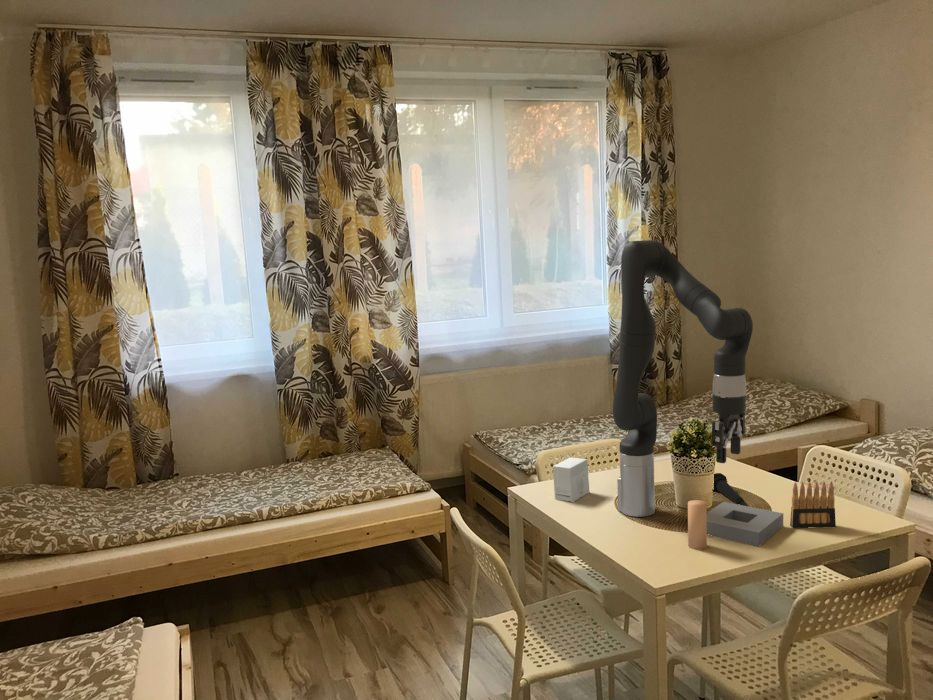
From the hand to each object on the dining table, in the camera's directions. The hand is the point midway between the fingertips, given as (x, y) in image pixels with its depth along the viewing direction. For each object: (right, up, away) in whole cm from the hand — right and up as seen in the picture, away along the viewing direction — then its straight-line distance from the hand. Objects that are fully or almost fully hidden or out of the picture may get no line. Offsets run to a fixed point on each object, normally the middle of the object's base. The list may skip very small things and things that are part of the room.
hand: (728, 458), depth 185 cm
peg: (-6, -22, +4) cm, 23 cm away
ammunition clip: (+26, -20, +12) cm, 35 cm away
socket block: (+8, -20, +13) cm, 25 cm away
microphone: (+12, -17, +37) cm, 42 cm away
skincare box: (-31, -18, +46) cm, 58 cm away
